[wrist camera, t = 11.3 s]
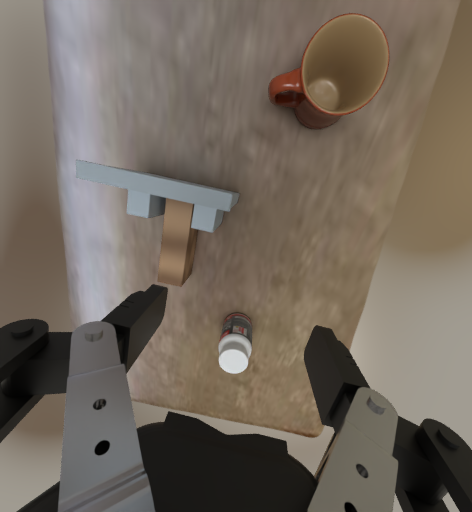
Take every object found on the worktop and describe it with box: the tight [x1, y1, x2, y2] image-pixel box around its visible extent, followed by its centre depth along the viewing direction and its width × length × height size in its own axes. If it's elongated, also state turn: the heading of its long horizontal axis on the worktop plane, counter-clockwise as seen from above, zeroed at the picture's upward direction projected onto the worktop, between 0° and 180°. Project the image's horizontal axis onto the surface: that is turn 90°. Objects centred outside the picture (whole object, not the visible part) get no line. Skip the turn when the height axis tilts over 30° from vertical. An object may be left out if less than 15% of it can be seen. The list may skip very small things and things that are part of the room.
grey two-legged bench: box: [76, 160, 239, 233], centre depth 31 cm, size 6×16×15 cm, turn 78°
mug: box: [268, 13, 389, 129], centre depth 28 cm, size 12×9×10 cm
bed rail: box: [157, 198, 198, 287], centre depth 37 cm, size 14×4×6 cm, turn 168°
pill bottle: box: [219, 313, 252, 373], centre depth 39 cm, size 6×6×10 cm
